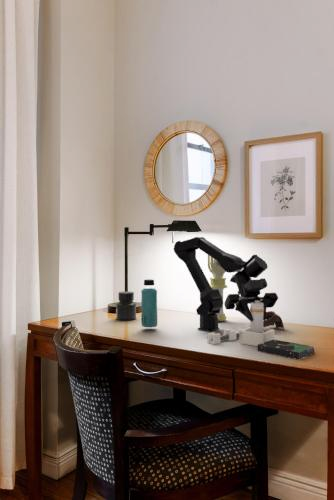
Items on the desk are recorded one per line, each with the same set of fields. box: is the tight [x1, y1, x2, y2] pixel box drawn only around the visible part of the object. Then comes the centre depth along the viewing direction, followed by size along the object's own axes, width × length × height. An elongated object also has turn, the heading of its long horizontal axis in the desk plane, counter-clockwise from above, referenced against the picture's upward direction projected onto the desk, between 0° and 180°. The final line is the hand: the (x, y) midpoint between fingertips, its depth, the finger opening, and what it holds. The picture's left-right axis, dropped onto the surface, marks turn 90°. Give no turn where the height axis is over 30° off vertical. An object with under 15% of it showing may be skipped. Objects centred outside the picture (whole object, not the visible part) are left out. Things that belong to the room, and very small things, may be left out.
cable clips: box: [207, 326, 250, 345], centre depth 158 cm, size 4×21×3 cm, turn 125°
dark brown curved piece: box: [263, 310, 285, 331], centre depth 176 cm, size 12×10×8 cm
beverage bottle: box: [140, 279, 158, 328], centre depth 175 cm, size 6×7×20 cm
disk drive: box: [256, 339, 315, 360], centre depth 140 cm, size 10×3×15 cm
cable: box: [212, 332, 239, 342], centre depth 158 cm, size 5×20×1 cm, turn 112°
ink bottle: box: [115, 291, 137, 321], centre depth 198 cm, size 10×9×12 cm
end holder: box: [238, 326, 275, 347], centre depth 153 cm, size 9×9×4 cm
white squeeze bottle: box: [249, 300, 264, 333], centre depth 153 cm, size 5×5×14 cm
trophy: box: [207, 254, 228, 322], centre depth 193 cm, size 8×8×30 cm
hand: (258, 320), depth 151 cm, fingers open, 5 cm apart
